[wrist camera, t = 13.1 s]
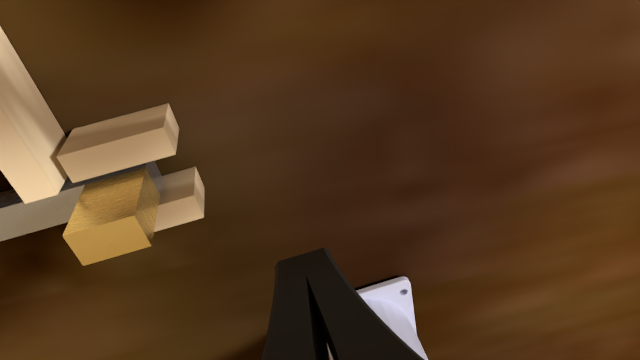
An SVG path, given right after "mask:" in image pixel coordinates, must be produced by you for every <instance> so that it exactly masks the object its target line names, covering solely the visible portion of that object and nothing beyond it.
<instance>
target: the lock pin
mask: <svg viewBox="0 0 640 360" xmlns="http://www.w3.org/2000/svg"><path fill="white" fill-rule="evenodd" d="M162 181H163V177H162V175H161V173H160V171H159V169H158V167H157V165H156V163H155V161H150V162H147V163H143V164H140V165H136V166H133V167H129V168H125V169H122V170H118V171H115V172H111V173H108V174H104V175H100V176H97V177H93V178H90V179H86V180H83V181H79V182H75V183H72V181H71V180H70V178H69V176H67V178H66V180H65V182H64V184H63V186H62V188H61V190H60V191H59V193H58V195H55V196H52V197H48V198H45V199H41V200H37V201H34V202H30V203H27V204H25V203H24V202H23V200H22V199H21V198H20V196H19V195H18V193H17V192H16V191H15V189H12V190H8V191H5V192H1V193H0V241H4V240H7V239H11V238H14V237H18V236H21V235H25V234H28V233H32V232H35V231H39V230H42V229H46V228H49V227H53V226H56V225H60V224H63V223H67V222H68V224H67V227H66V229H65V231H64V233H63V238H64V239H65V241H66V242H67V243H68V245H69V246H70V248H71V249H72V251H73V252H74V253H75V255H76V256H77V258H78V259H79V260H80V262H81V263H82V265H83V266H85V265H88V264H92V263H95V262H98V261H102V260H105V259H109V258H112V257H115V256H119V255H122V254H126V253H129V252H133V251H136V250H139V249H143V248H146V247H150V246H152V240H153V234H154V228H155V222H156V217H157V211H158V205H159V199H160V193H161V187H162Z"/></svg>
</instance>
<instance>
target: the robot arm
mask: <svg viewBox="0 0 640 360" xmlns="http://www.w3.org/2000/svg"><path fill="white" fill-rule="evenodd" d="M403 289H404V290H403ZM401 290H402V291H401ZM261 360H428V358H427V356H426V354H425V352H424V350H423V348H422V346H421V343H420V341H419V339H418V337H417V333H416V325H415V317H414V309H413V300H412V292H411V284H410V282H409V280H408V278H407V277H398V278H395V279H392V280H389V281H385V282H382V283H379V284H376V285H372V286H369V287H366V288H363V289H359V290H355V289H354V288H353V287H352V285H351V284H350V283H349V282H348V280H347V279H346V277H345V276H344V275H343V273H342V272H341V271H340V269H339V268H338V266H337V265H336V263H335V261H334V260H333V258H332V256H331V254H330V252H329V250H327V249H325V248H321V249H318V250H315V251H311V252H308V253H305V254H301V255H298V256H295V257H291V258H288V259H285V260H281V261H278V263H277V264H276V266H275V288H274V296H273V304H272V310H271V315H270V321H269V326H268V332H267V336H266V341H265V345H264V349H263V353H262V357H261Z"/></svg>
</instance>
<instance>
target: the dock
mask: <svg viewBox="0 0 640 360" xmlns="http://www.w3.org/2000/svg"><path fill="white" fill-rule="evenodd" d="M178 133H179V127H178V124H177V122H176V120H175V117H174V115H173V113H172V110H171V108H170V106H169V103H167V104H164V105H160V106H156V107H153V108H149V109H145V110H142V111H138V112H134V113H131V114H127V115H123V116H120V117H116V118H112V119H108V120H105V121H101V122H97V123H94V124H90V125H86V126H83V127H79V128H75V129H73V130H72V132H71V133H70V135H69V136H68V138H67V137H66V136H65V134H64V132H63V130H62V129H61V127H60V125H59V124H58V122H57V120H56V119H55V117H54V115H53V114H52V112H51V110H50V109H49V107H48V105H47V104H46V102H45V100H44V99H43V97H42V95H41V94H40V92H39V90H38V89H37V87H36V85H35V84H34V82H33V80H32V79H31V77H30V75H29V73H28V72H27V70H26V68H25V67H24V65H23V63H22V62H21V60H20V58H19V57H18V55H17V53H16V52H15V50H14V48H13V47H12V45H11V43H10V42H9V40H8V38H7V37H6V35H5V33H4V32H3V30H2V28H1V27H0V170H1V171H2V173H3V174H4V176H5V177H6V178H7V180H8V181H9V182H10V184H11V185H12V187H13V188H14V189H15V191H16V192H17V193H18V195H19V196H20V198H21V199H22V200H23V202H24V203H25V204H27V203H30V202H34V201H37V200H41V199H45V198H48V197H52V196H55V195H58V193H59V191H60V190H61V188H62V186H63V184H64V182H65V180H66V178H67V176H69V178H70V180H71V181H72V183H75V182H79V181H83V180H86V179H90V178H93V177H97V176H100V175H104V174H108V173H111V172H115V171H118V170H122V169H125V168H129V167H133V166H136V165H140V164H143V163H147V162H150V161H154V160H158V159H161V158H165V157H168V156H172V155H175V154H176V148H177V141H178ZM162 177H163V181H162V187H161V193H160V199H159V205H158V211H157V217H156V222H155V228H154V232H156V231H159V230H163V229H166V228H169V227H173V226H176V225H180V224H183V223H187V222H190V221H193V220H197V219H200V218H204V185H203V183H202V181H201V178H200V176H199V174H198V171H197V169H196V167H192V168H189V169H185V170H182V171H178V172H175V173H171V174H167V175H164V176H162Z"/></svg>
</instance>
